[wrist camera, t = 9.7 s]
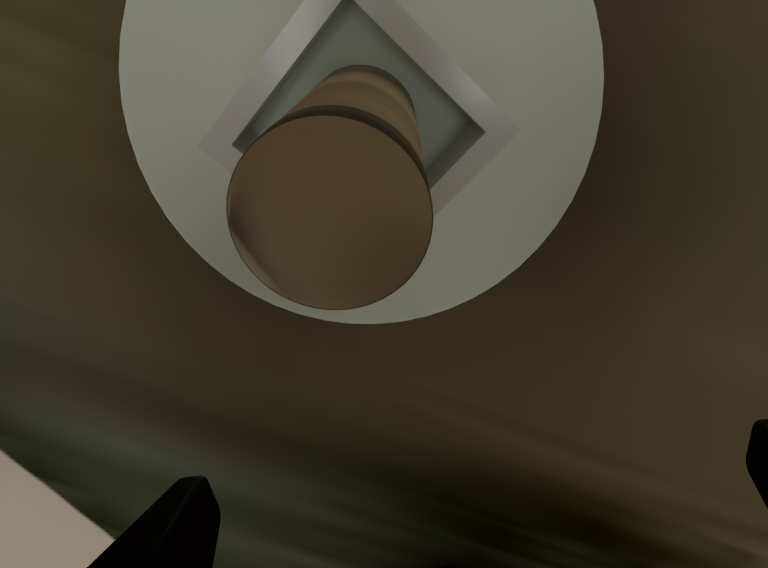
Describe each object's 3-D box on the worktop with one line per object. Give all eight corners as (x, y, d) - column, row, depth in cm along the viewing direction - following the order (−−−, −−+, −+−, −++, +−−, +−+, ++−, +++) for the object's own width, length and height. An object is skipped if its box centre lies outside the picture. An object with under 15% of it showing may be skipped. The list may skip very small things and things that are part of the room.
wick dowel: (365, 199, 15) (341, 343, 9) (283, 126, 14) (186, 225, 8) (440, 121, 14) (476, 217, 8) (356, 37, 13) (315, 63, 7)
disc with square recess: (381, 326, 22) (378, 423, 17) (103, 113, 18) (-9, 156, 13) (640, 85, 18) (742, 119, 12) (343, -272, 14) (314, -437, 8)
